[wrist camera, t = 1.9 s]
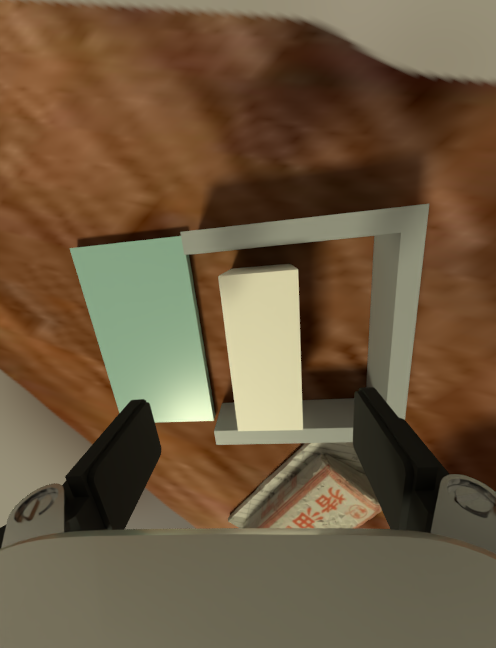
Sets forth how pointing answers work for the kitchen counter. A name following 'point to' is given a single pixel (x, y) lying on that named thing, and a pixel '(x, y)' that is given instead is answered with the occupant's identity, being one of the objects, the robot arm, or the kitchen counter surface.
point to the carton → (264, 345)
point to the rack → (385, 314)
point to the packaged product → (312, 492)
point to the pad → (148, 325)
